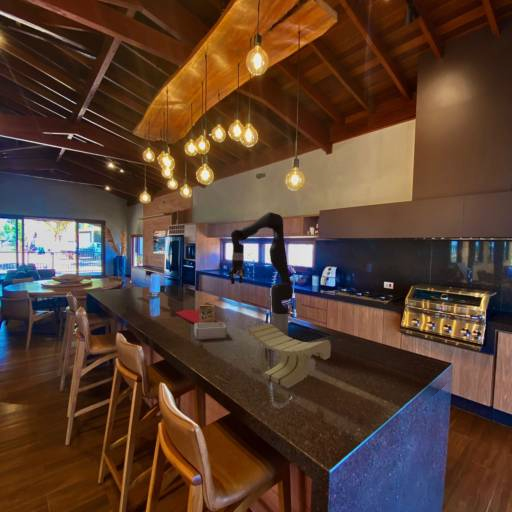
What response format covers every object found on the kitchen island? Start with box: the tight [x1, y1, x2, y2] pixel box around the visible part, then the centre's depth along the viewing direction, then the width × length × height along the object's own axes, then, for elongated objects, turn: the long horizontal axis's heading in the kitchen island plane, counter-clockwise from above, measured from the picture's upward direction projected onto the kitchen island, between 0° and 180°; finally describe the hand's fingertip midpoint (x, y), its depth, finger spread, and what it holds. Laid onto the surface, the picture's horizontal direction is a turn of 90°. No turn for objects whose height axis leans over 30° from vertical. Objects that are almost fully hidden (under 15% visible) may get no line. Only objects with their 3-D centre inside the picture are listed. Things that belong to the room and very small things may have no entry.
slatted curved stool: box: [248, 323, 332, 389], centre depth 114 cm, size 30×16×18 cm, turn 47°
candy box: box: [199, 304, 216, 323], centre depth 173 cm, size 9×4×15 cm, turn 92°
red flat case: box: [175, 309, 219, 324], centre depth 195 cm, size 16×41×4 cm, turn 37°
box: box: [193, 321, 228, 341], centre depth 161 cm, size 12×17×6 cm
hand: (236, 283), depth 185 cm, fingers open, 8 cm apart
